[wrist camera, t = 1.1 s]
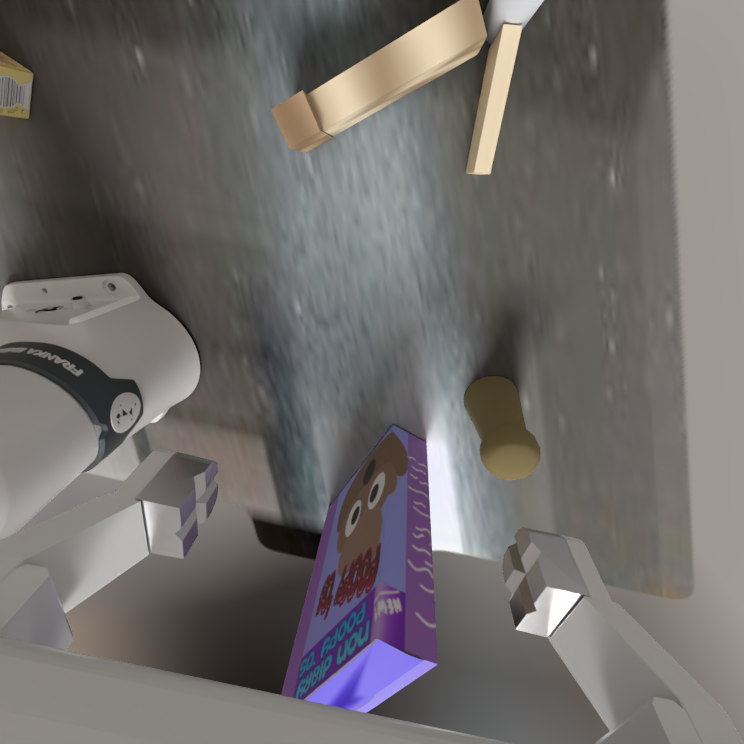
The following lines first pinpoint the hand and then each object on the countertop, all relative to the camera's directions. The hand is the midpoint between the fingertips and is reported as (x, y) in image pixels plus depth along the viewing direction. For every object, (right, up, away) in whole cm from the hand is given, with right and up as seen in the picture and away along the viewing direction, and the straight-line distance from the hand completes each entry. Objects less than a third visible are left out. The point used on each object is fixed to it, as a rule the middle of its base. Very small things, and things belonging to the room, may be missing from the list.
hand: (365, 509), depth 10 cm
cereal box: (+1, -10, +40) cm, 41 cm away
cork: (+14, +1, +32) cm, 35 cm away
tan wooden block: (+1, +26, +19) cm, 32 cm away
